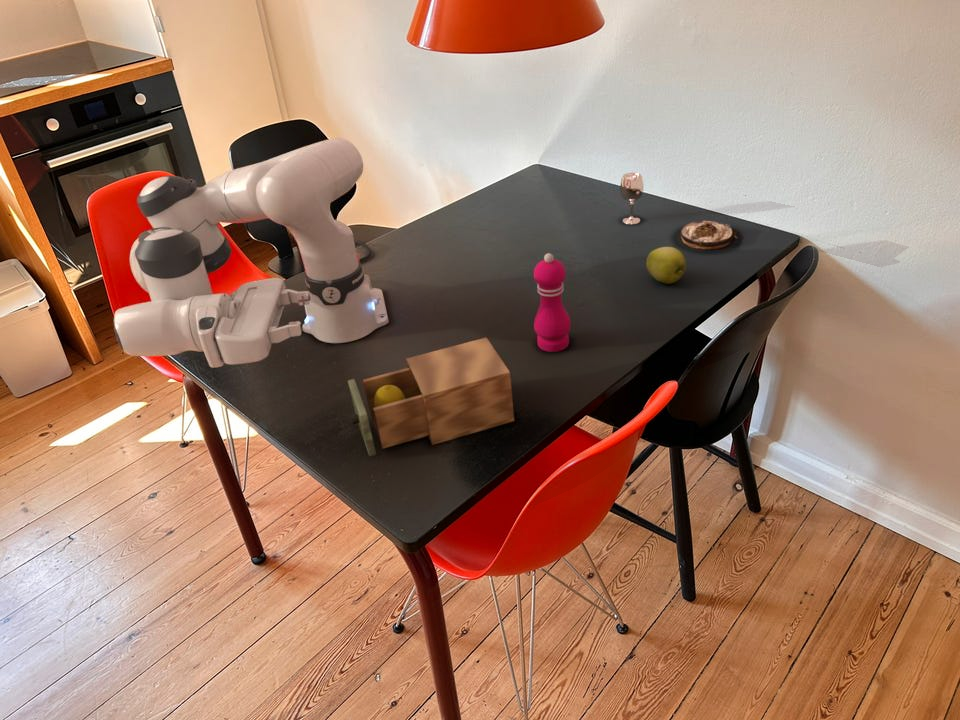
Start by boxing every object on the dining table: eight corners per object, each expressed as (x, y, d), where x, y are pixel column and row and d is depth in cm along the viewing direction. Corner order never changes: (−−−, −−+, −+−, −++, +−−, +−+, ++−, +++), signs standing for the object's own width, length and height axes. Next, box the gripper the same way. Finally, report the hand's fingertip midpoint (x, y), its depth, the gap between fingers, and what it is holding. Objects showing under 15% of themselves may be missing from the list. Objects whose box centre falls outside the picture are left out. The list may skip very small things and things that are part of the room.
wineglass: (616, 218, 199) (616, 174, 192) (636, 214, 200) (637, 170, 193) (626, 227, 194) (626, 182, 187) (646, 222, 195) (648, 177, 189)
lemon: (408, 431, 132) (401, 394, 127) (376, 434, 132) (368, 397, 128) (410, 411, 136) (403, 374, 132) (379, 414, 137) (371, 377, 132)
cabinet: (432, 445, 131) (423, 395, 125) (414, 405, 141) (405, 358, 135) (514, 421, 135) (510, 372, 129) (491, 384, 144) (486, 337, 138)
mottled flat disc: (723, 259, 176) (725, 242, 174) (664, 246, 185) (664, 230, 182) (749, 234, 185) (751, 218, 183) (691, 222, 194) (692, 207, 191)
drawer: (362, 458, 129) (352, 418, 124) (350, 421, 137) (340, 382, 133) (448, 433, 132) (442, 393, 127) (431, 399, 141) (424, 359, 136)
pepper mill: (568, 332, 156) (565, 243, 145) (573, 351, 150) (570, 260, 139) (533, 335, 157) (527, 247, 145) (537, 355, 151) (531, 264, 139)
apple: (671, 294, 165) (673, 261, 160) (638, 281, 171) (639, 249, 166) (694, 281, 169) (696, 248, 164) (661, 268, 175) (663, 236, 170)
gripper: (238, 306, 131) (318, 297, 131) (209, 374, 114) (300, 364, 114) (227, 273, 128) (310, 264, 128) (196, 339, 111) (291, 329, 111)
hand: (305, 312), depth 121 cm, fingers open, 8 cm apart
